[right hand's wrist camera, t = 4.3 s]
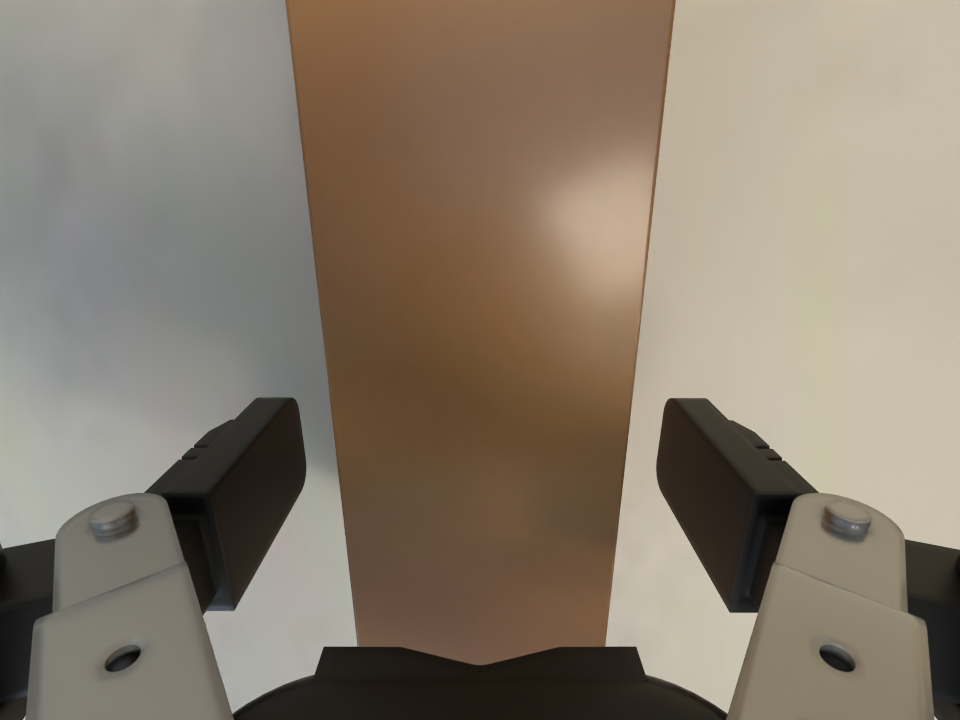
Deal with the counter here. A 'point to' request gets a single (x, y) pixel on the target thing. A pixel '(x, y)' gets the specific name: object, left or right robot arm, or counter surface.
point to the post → (481, 301)
